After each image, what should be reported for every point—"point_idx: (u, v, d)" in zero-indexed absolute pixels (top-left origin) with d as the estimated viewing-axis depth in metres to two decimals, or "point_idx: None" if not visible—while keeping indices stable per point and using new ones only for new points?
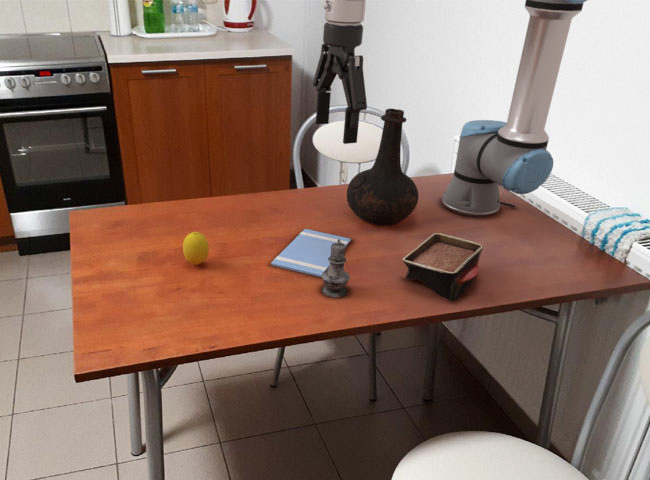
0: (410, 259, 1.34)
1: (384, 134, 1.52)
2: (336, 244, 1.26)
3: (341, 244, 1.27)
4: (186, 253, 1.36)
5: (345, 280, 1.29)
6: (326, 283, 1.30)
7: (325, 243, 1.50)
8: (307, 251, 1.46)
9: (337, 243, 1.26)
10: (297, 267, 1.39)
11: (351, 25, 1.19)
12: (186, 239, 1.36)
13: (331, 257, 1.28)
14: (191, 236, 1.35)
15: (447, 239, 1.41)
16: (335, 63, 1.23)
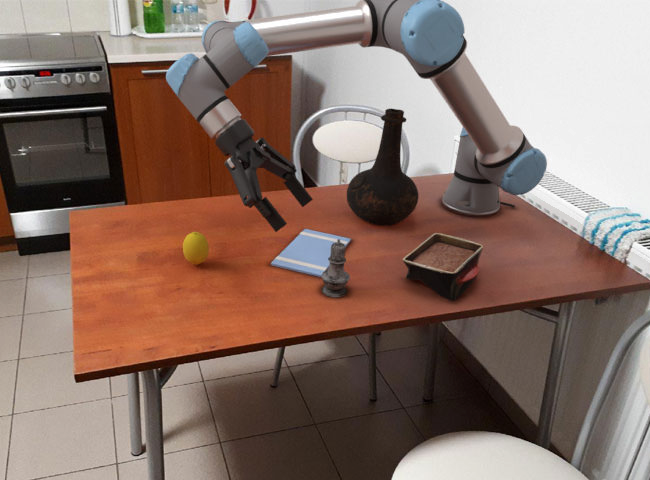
0: (410, 259, 1.34)
1: (384, 134, 1.52)
2: (336, 244, 1.26)
3: (341, 244, 1.27)
4: (186, 253, 1.36)
5: (345, 280, 1.29)
6: (326, 283, 1.30)
7: (325, 243, 1.50)
8: (307, 251, 1.46)
9: (337, 243, 1.26)
10: (297, 267, 1.39)
11: (220, 133, 1.22)
12: (186, 239, 1.36)
13: (331, 257, 1.28)
14: (191, 236, 1.35)
15: (447, 239, 1.41)
16: None
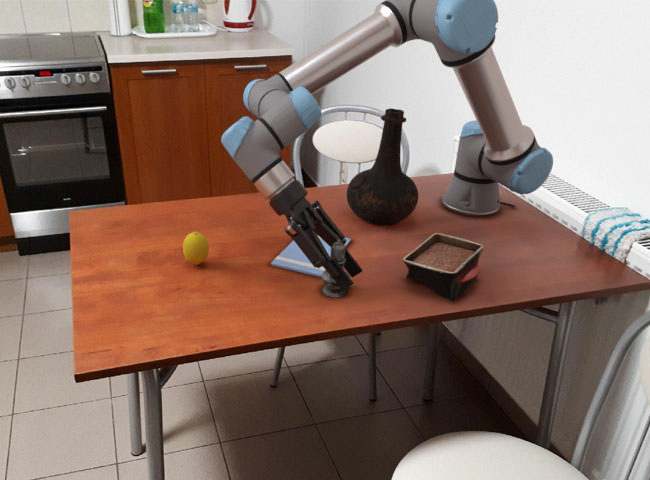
0: (410, 259, 1.34)
1: (384, 134, 1.52)
2: (336, 244, 1.26)
3: (341, 244, 1.27)
4: (186, 253, 1.36)
5: None
6: (326, 283, 1.30)
7: (325, 243, 1.50)
8: None
9: (337, 243, 1.26)
10: (297, 267, 1.39)
11: (275, 194, 1.24)
12: (186, 239, 1.36)
13: (331, 257, 1.28)
14: (191, 236, 1.35)
15: (447, 239, 1.41)
16: None
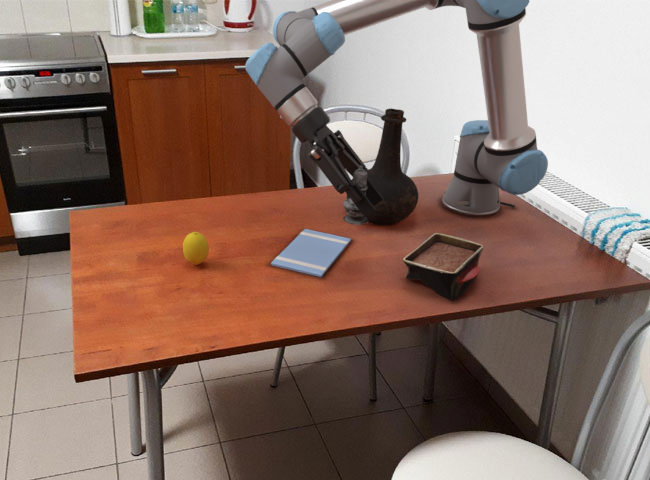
0: (410, 259, 1.34)
1: (384, 134, 1.52)
2: (358, 170, 1.28)
3: (363, 170, 1.28)
4: (186, 253, 1.36)
5: None
6: (348, 210, 1.32)
7: (325, 243, 1.50)
8: (307, 251, 1.46)
9: (360, 169, 1.28)
10: (297, 267, 1.39)
11: (299, 120, 1.26)
12: (186, 239, 1.36)
13: None
14: (191, 236, 1.35)
15: (447, 239, 1.41)
16: None
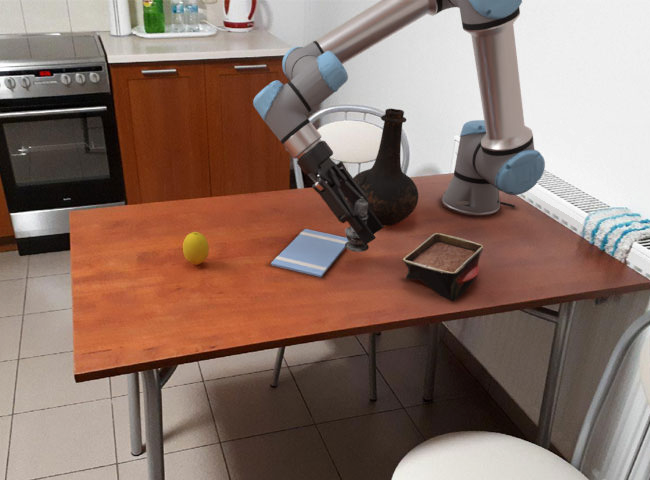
0: (410, 259, 1.34)
1: (384, 134, 1.52)
2: (359, 201, 1.35)
3: (364, 201, 1.35)
4: (186, 253, 1.36)
5: None
6: (349, 238, 1.39)
7: (325, 243, 1.50)
8: (307, 251, 1.46)
9: (361, 200, 1.35)
10: (297, 267, 1.39)
11: (303, 153, 1.33)
12: (186, 239, 1.36)
13: (355, 213, 1.37)
14: (191, 236, 1.35)
15: (447, 239, 1.41)
16: None
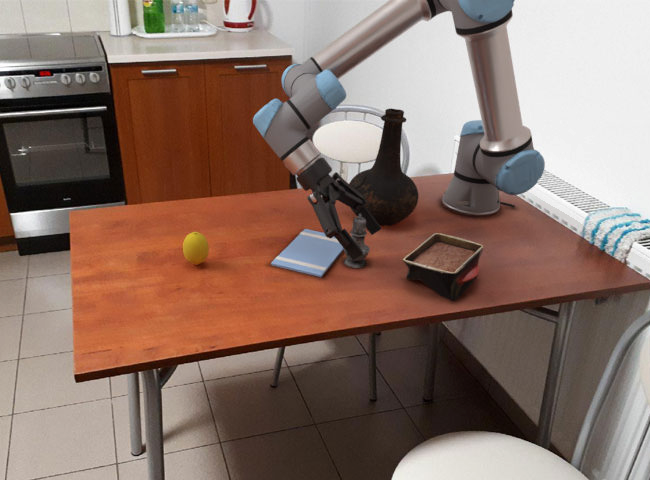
0: (410, 259, 1.34)
1: (384, 134, 1.52)
2: (358, 218, 1.37)
3: (362, 218, 1.38)
4: (186, 253, 1.36)
5: (366, 252, 1.40)
6: (348, 255, 1.41)
7: (325, 243, 1.50)
8: (307, 251, 1.46)
9: (359, 217, 1.37)
10: (297, 267, 1.39)
11: (303, 170, 1.35)
12: (186, 239, 1.36)
13: (353, 230, 1.39)
14: (191, 236, 1.35)
15: (447, 239, 1.41)
16: None
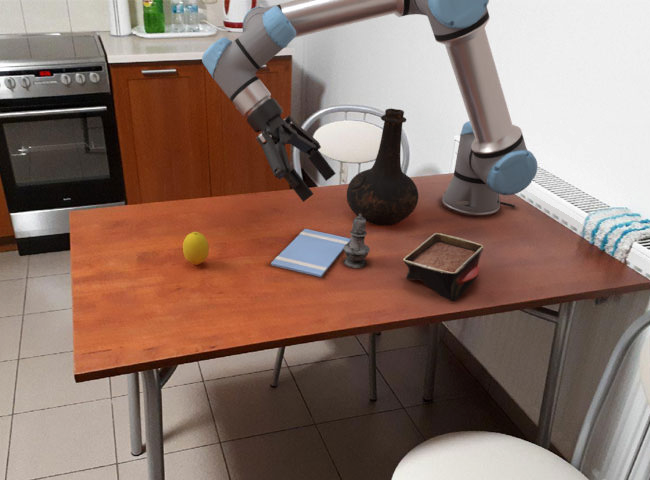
0: (410, 259, 1.34)
1: (384, 134, 1.52)
2: (358, 218, 1.37)
3: (362, 218, 1.38)
4: (186, 253, 1.36)
5: (365, 252, 1.40)
6: (348, 255, 1.41)
7: (325, 243, 1.50)
8: (307, 251, 1.46)
9: (359, 217, 1.37)
10: (297, 267, 1.39)
11: (252, 111, 1.33)
12: (186, 239, 1.36)
13: (353, 230, 1.39)
14: (191, 236, 1.35)
15: (447, 239, 1.41)
16: None
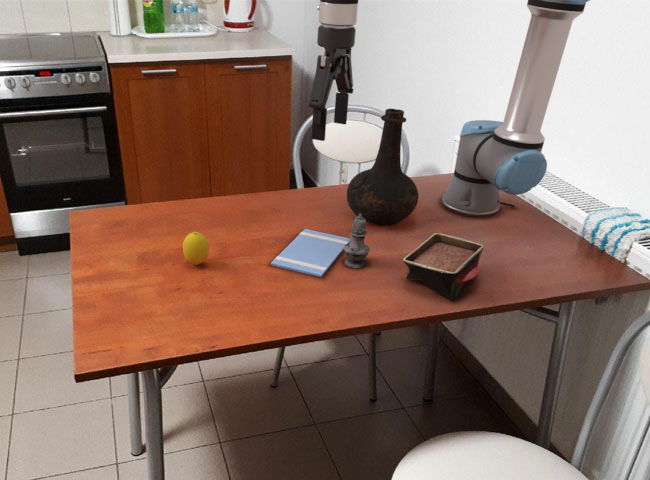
0: (411, 259, 1.34)
1: (384, 134, 1.52)
2: (358, 218, 1.37)
3: (362, 218, 1.38)
4: (186, 253, 1.36)
5: (365, 252, 1.40)
6: (348, 255, 1.41)
7: (325, 243, 1.50)
8: (307, 251, 1.46)
9: (359, 217, 1.37)
10: (297, 267, 1.39)
11: (332, 27, 1.24)
12: (186, 239, 1.36)
13: (353, 230, 1.39)
14: (191, 236, 1.35)
15: (447, 239, 1.41)
16: None
